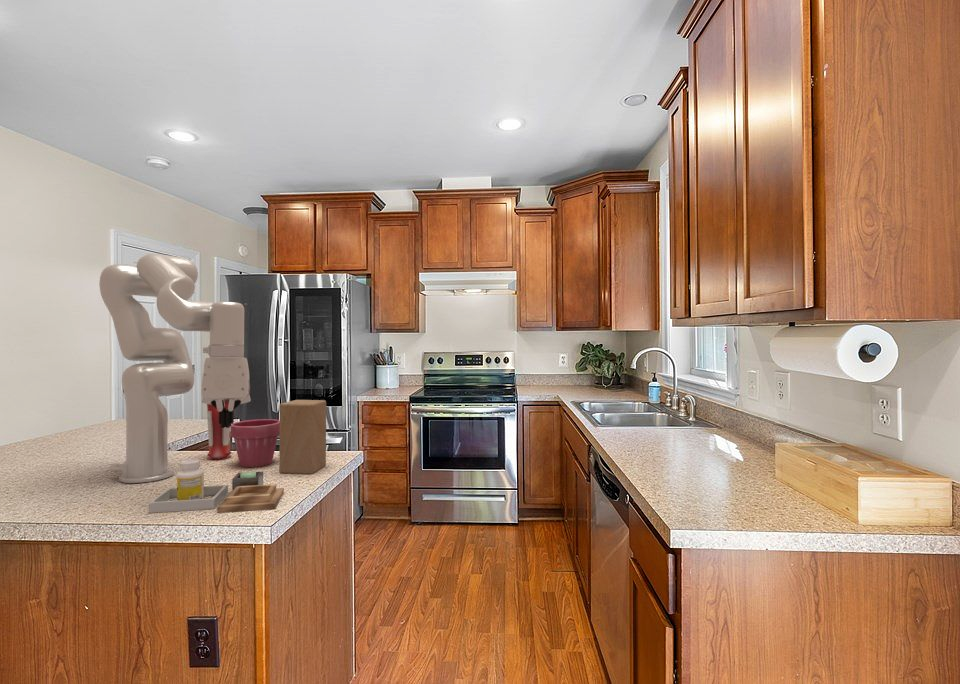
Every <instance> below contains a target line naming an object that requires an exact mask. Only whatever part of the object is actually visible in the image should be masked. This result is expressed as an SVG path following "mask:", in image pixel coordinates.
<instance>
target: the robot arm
mask: <svg viewBox="0 0 960 684" xmlns="http://www.w3.org/2000/svg"><path fill="white" fill-rule="evenodd" d="M198 278H199V272H198V267H197V266H196V263H194V262H193V261H191V260H190V259H189V258H186V257H181V256H175V255H170V254H169V255H168V254H167V255H166V254H161V253H148V254H145V255H143V256H141V257H140V258H139V259H138V260H137V262H136V265H135V264H125V263H117V264H111V265H109V266H106V267H104V269H103V270H102V271H101V274H100V276H99V292H100V296H101V299H102V302H103V303H104V305H105V307H106V309H107V311H108V312H109V314H110V316H111V318H112V322H113V327H114V329H115V333H116V337H117V341H118V346H119V349H120V351H121V354H122V356H123V357H124V358H125V359H126V360H128V361H130V362H131V361H133V362H139V363H135V364H132V365H130V366H128V367H127V368H126V369H125V370H124V371H123V372H122V374H121V375H122V376H121V385H122V390H123V395H124V400H125V417H126V418H125V420H126V421H125V422H126V423H125V424H126V426H125V429H126V431H125V440H126V441H125V442H126V444H125V447H126V449H125V457H126V458H125V460H126V461H125V462H123V463H111V464H110V466H109V471H110V472H111V473H118V472H120V473H121V474H120V475H119V477H118V481H119V482H121V483H125V484H137V483H139V484H141V483H149V482H155V481H160V480H164V479H167V478H170V477H172V476H173V475H174V474H175V469H174V468H172V467H169V466H168V436H169V435H168V427H169V426H168V421H169V420H168V417H169V416H168V410H167V408H166V406H165V405H164V403H163V402H162V401H161V400H160V398H159V397H165V396H168V397H169V396H176V395H184V394H186V393H189V392H190V391H191V390H192V389H193V388H194V385H195V372H194V368H193V365H192V362H191V358H190V354H189V350H188V347H187V344H186V341H185V338H184V337H183V334H181V332H208V333H209V345H208V346H206V347H203V348H202V353H203V354H208V356H209V357H206V358H205V360H204V364H203V371H202V379H201V397H202V399H201V403H202V404H206V405H207V404H210V405H213V406H214V407H215V408H216V409H217V411H219V424H221V428H225V427H226V428H229V427H230V426H231V424H233V423H235V422H234V421H235V419H234V417H235V414H234V413H235V409H236V408H238V407H239V406H240V405H243V404H247V403H250V402H251V401H252V400H251V396H250V392H251V382H250V381H251V379H250V369H249V364H248V363H249V362H248V358H247V357H244V356H245V306H244V305H243V303H240V302H237V301H235V302H233V301H203V300H190V299H191V297H192V296H193V295H194V293H195V288H196V286H195V284H196V282H197V281H198ZM133 296H141V297H150V298H151V297H152V298H156V307H157V311H158V314H159V316H160V317H161V318H162V319H163V320H164V321H165V322H166V324H168V325H169V326H170V327H172V328H167V327H155V326H153V325H152V322H151V320H150V319H151V318H150V315H149V312H148V311H147V309H146V308H145V307H144V306H143V304H141V303H140V302H139V301H138V300H137V299H135V298H134V297H133ZM179 331H181V332H179ZM155 361H157V362H155ZM159 361H160V362H159ZM161 361H162V362H161ZM141 362H142V363H141ZM214 399H216V400H214ZM224 399H230V400H229V405H228V409H227V410H226V408H225V403H224Z"/></svg>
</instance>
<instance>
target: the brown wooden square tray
mask: <svg viewBox="0 0 960 684" xmlns="http://www.w3.org/2000/svg"><path fill="white" fill-rule="evenodd" d="M284 493H285V488H284V487H280V488H278V487H277V484H276V483H274V484H273V483H272V484H263V485H252V486H237V487H236V488H235V489H234V490H233V491H232V490H231V491H230V492H228V494H227V495H226V496H225V497H224V498H223V500H222V501H221V502H220V503H219V504H218V505H217V506H216V512H217V513H230V512H231V513H232V512H233V513H234V512H236V513H237V512H248V511H261V510H263V511H264V510H275V509H277V506H278V504H279V503H280V500H281V499H282V497H283V495H284Z"/></svg>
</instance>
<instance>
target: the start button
mask: <svg viewBox="0 0 960 684" xmlns="http://www.w3.org/2000/svg"><path fill="white" fill-rule="evenodd" d="M256 472H257V471H251V470H250V471H249V470H248V471H243V473H241V472H240V473H241V474H240V478H246V477H256Z"/></svg>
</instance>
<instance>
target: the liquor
mask: <svg viewBox="0 0 960 684" xmlns="http://www.w3.org/2000/svg"><path fill="white" fill-rule="evenodd" d="M214 400H216V399H214ZM229 400H230V399H224V403H225V408H226V410H227V409H228V405H229ZM206 414H207V415H206V416H207V417H206V419H207V429H208V430H207V433H208V435H207V437H208V453H207V457H208V458H210V459H211V460H213V461H215V460H217V461H219V460H224V459H228V457H229V456H230V455H231V454H232V451H231V426H230V427H229V428H226V427H225V428H221V424H219V411H217V409H216V408H215V407H214V406H213V405H210V404H206Z"/></svg>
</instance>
